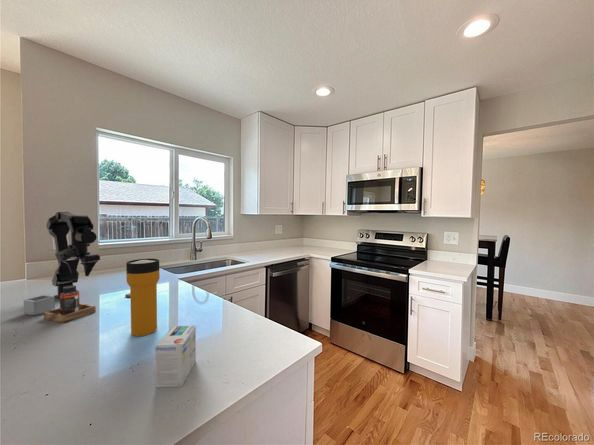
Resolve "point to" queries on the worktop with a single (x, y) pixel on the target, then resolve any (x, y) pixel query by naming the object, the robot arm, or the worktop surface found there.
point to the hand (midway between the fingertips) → (80, 275)
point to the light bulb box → (175, 356)
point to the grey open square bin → (39, 304)
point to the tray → (55, 314)
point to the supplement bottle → (69, 300)
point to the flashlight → (143, 295)
